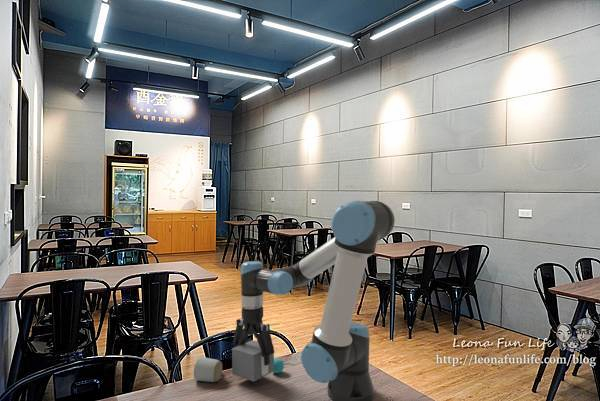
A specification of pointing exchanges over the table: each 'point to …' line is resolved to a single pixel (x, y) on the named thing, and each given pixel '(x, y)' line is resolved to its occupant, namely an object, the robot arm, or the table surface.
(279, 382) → the table surface
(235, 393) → the table surface
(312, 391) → the table surface
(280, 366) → the ball
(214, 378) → the ceramic mug
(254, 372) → the grey cube
